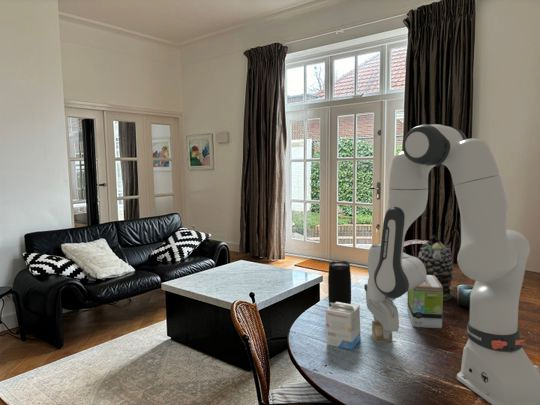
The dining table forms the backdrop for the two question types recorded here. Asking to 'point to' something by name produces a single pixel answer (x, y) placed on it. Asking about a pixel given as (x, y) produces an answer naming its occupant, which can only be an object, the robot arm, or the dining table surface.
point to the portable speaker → (339, 282)
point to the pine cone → (438, 264)
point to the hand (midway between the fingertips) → (381, 332)
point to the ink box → (343, 325)
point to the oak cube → (379, 332)
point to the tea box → (426, 303)
